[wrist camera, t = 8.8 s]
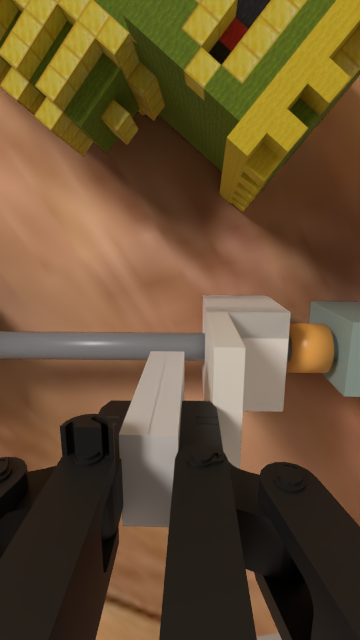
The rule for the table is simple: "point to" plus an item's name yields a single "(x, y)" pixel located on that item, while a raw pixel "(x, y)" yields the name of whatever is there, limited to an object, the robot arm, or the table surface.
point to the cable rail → (303, 346)
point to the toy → (184, 74)
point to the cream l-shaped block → (243, 360)
